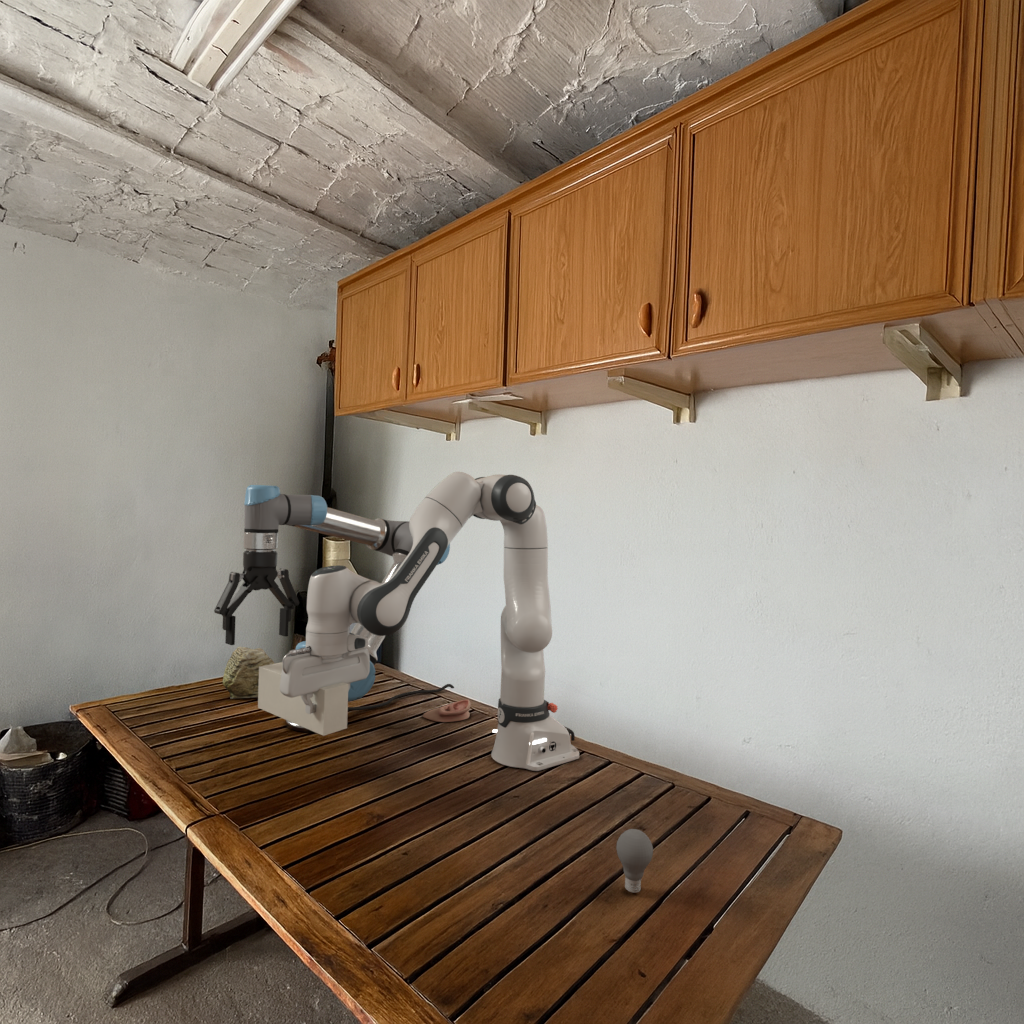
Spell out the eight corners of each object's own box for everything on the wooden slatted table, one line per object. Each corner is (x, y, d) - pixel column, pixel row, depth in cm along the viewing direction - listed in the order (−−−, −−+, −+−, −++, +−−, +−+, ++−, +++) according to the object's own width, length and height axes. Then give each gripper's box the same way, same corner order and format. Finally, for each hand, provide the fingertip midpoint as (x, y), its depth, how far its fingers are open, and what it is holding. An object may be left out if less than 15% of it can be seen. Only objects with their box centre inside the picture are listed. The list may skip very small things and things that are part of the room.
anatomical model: (419, 705, 182) (432, 694, 193) (418, 719, 182) (431, 707, 193) (463, 711, 179) (474, 698, 190) (463, 725, 179) (473, 712, 190)
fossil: (218, 695, 195) (220, 647, 195) (278, 685, 208) (279, 640, 207) (228, 703, 189) (230, 653, 188) (289, 692, 201) (290, 645, 201)
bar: (257, 707, 144) (258, 666, 144) (281, 701, 149) (282, 661, 149) (323, 735, 129) (324, 690, 129) (347, 728, 134) (348, 683, 134)
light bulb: (610, 879, 108) (613, 822, 108) (644, 879, 109) (647, 822, 109) (619, 902, 102) (622, 840, 102) (655, 901, 103) (658, 840, 103)
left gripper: (216, 553, 137) (213, 651, 138) (315, 549, 157) (312, 634, 158) (200, 551, 142) (197, 645, 142) (298, 547, 162) (295, 629, 162)
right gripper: (292, 654, 123) (290, 724, 123) (374, 638, 139) (373, 700, 140) (274, 648, 127) (272, 717, 127) (356, 633, 143) (354, 694, 144)
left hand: (257, 639), depth 150 cm, fingers open, 13 cm apart
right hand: (325, 708), depth 134 cm, fingers closed on bar, 6 cm apart
